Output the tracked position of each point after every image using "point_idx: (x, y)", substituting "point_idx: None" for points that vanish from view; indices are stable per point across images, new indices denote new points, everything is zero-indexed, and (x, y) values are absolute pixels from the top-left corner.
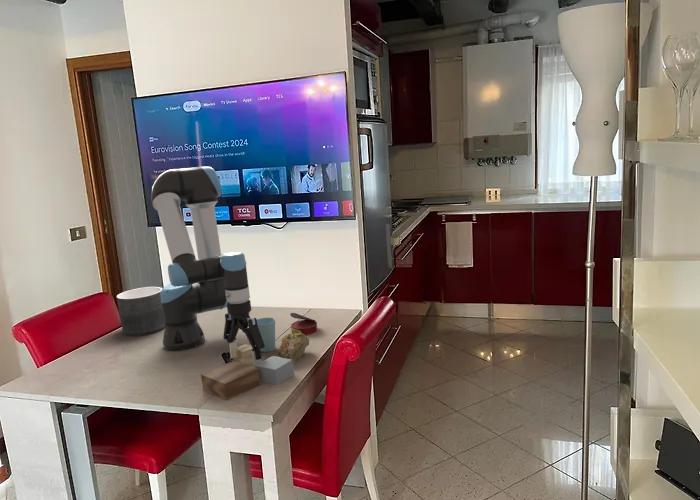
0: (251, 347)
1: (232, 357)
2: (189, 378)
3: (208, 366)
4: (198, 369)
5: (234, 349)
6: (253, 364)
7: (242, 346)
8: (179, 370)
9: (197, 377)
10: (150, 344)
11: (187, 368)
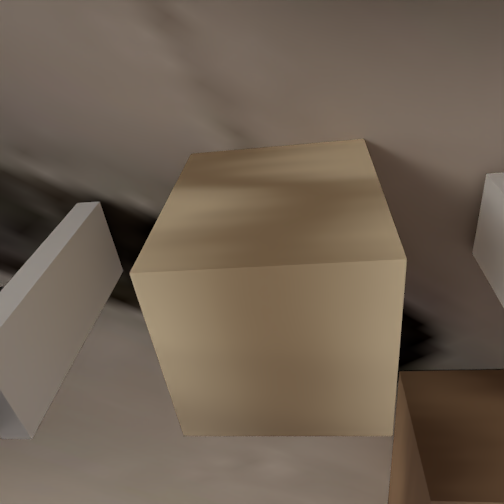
0: (368, 305)
1: (104, 293)
2: (170, 495)
3: (61, 385)
4: (69, 431)
5: (208, 435)
6: (497, 288)
7: (195, 348)
8: (8, 475)
9: (192, 476)
10: None
11: (5, 449)
